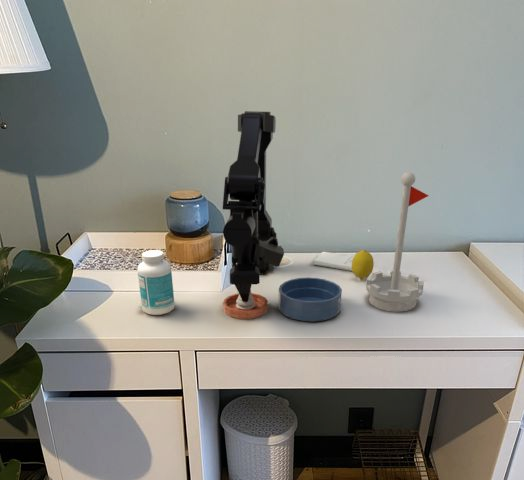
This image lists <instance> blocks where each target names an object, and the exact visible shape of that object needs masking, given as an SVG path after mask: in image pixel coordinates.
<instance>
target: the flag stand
mask: <svg viewBox="0 0 524 480" xmlns="http://www.w3.org/2000/svg"><path fill="white" fill-rule="evenodd" d="M400 182H401V184H402V185H403V190H402V195H401V196H402V198H401V207H400V211H399V213H400V214H399V219H398V220H399V221H398V229H397V236H396V244H395V252H394V260H393V268H392V270H390V272H389V274H384V272H383V271H381V270H379V271H374V272H372V274H371V275H372V276H370V275H369V276H368V277H366V283H365V284H366V285H365V290H366V292H367V293H368V294H369V297H368V301H369V304H370V305H372V307H375V308H377V309H379V310H382V311H387V312H395V313H397V312H407V311H410V310H413V309H415V308H416V306H417V301H418V300H417V299H419V298H420V297H421V296H422V295H423V293H424V286H425V283H424V280H423V281H422V280H419V279H420V277H419V276H417V275H415V274H413V273H409V274H408V276H404V275H402V271H401V265H402V257H403V250H404V249H403V248H404V243H405V236H406V235H405V234H406V227H407V219H408V212H409V207H410V206H412V205H414V204H416V203H418V202H421V201H422V200H424V199H425V198H427V197H430V195H429V194H427V193H425V192H423V191H421V190H420V189H418V188H416V187H414V186H413V185H414V184H415V182H416V176H415V174H414V173H413V172H411V171H407V172H404V173H403V174H402V176H401V179H400Z"/></svg>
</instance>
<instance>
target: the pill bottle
mask: <svg viewBox="0 0 524 480" xmlns="http://www.w3.org/2000/svg"><path fill="white" fill-rule="evenodd" d="M141 258H142V259H141V260H142V262H140V263H139V264H138V266H137V270H136V271H137V278H138V279H137V280H138V286H139V287H138V288H139V292H140V293H139V294H140V302H141V303H140V304H141V309H142V311H143V313H146V314H149V315H153V316H160V315H166V314H169V313H170V312H171V311H173V310H174V308H175V296H174V295H175V294H174V284H173V273H172V265H171V264H170V262H169V261H167V260H164V259H165V255H164V251H163V250H160V249H150V250H146V251H144V252H142V253H141Z"/></svg>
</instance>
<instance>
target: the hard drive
mask: <svg viewBox="0 0 524 480" xmlns="http://www.w3.org/2000/svg"><path fill="white" fill-rule="evenodd" d="M354 256H355V255H348V254H341V253H336V252H329V251H321V252H320V253H319V254H318V255H317V256H316V257H314V259H313V261H312V265H313V266H319V267H325V268H330V269H337V270H343V271H349V272H353V271H352V261H353V258H354Z"/></svg>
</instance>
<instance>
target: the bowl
mask: <svg viewBox="0 0 524 480" xmlns="http://www.w3.org/2000/svg"><path fill="white" fill-rule="evenodd" d="M342 295H343V289H342V287H341V286H340V285H339V284H338V283H336V282H334V281H331V280H328V279H325V278H320V277H295V278H292V279H289V280H287V281H284V282H282V283H281V284H280V285H279V288H278V305H277V306H278V309H279V311H280V313H282V314H283V315H284V316H286V317H288V318H291V319H292V320H296V321H302V322H323V321H327V320H330V319H332V318H334V317H337V315H339V313H340V312H341V306H342Z"/></svg>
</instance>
